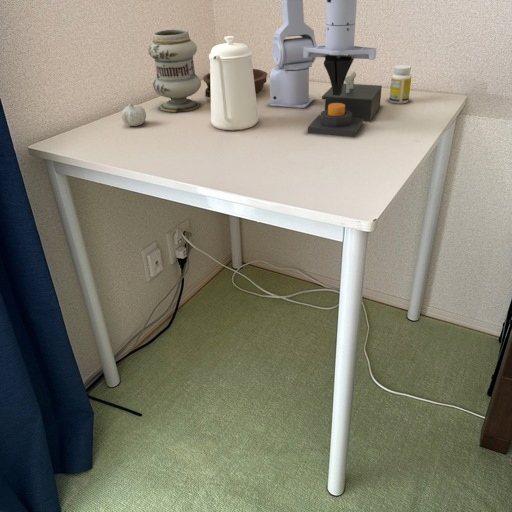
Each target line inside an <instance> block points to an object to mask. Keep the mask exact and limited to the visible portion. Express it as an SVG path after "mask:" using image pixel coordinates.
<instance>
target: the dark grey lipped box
mask: <svg viewBox="0 0 512 512" xmlns="http://www.w3.org/2000/svg"><path fill="white" fill-rule="evenodd" d="M382 89H383V88H381V90H380V91H379V93H378V94H377V96H376V97H375V99H374V100H373V101H372V103H371V102H355V101H340V100H325V101H324V111H325V110H328V105H329V104H331V103H342V104H345V110H348V111H350V112H351V113H352V117H356V118H363V122H367V123H369V122H372V120H373V118H374V116H375V115H376V113H377V112H378V110H379V109H380V107H381V100H382V99H381V98H382Z"/></svg>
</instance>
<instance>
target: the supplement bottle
mask: <svg viewBox="0 0 512 512" xmlns="http://www.w3.org/2000/svg"><path fill="white" fill-rule="evenodd" d="M411 67H412V66H411V65H408V64H396V65H394V66H393V74H392V75H391V76H390V77H391V78H390V88H389V98H388V99H389V100H388V101H389V102H390V103H392V104H399V105H400V104H406V103H408V102H409V99H410V92H411V84H412V74H410V73H411V70H412V68H411Z"/></svg>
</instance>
